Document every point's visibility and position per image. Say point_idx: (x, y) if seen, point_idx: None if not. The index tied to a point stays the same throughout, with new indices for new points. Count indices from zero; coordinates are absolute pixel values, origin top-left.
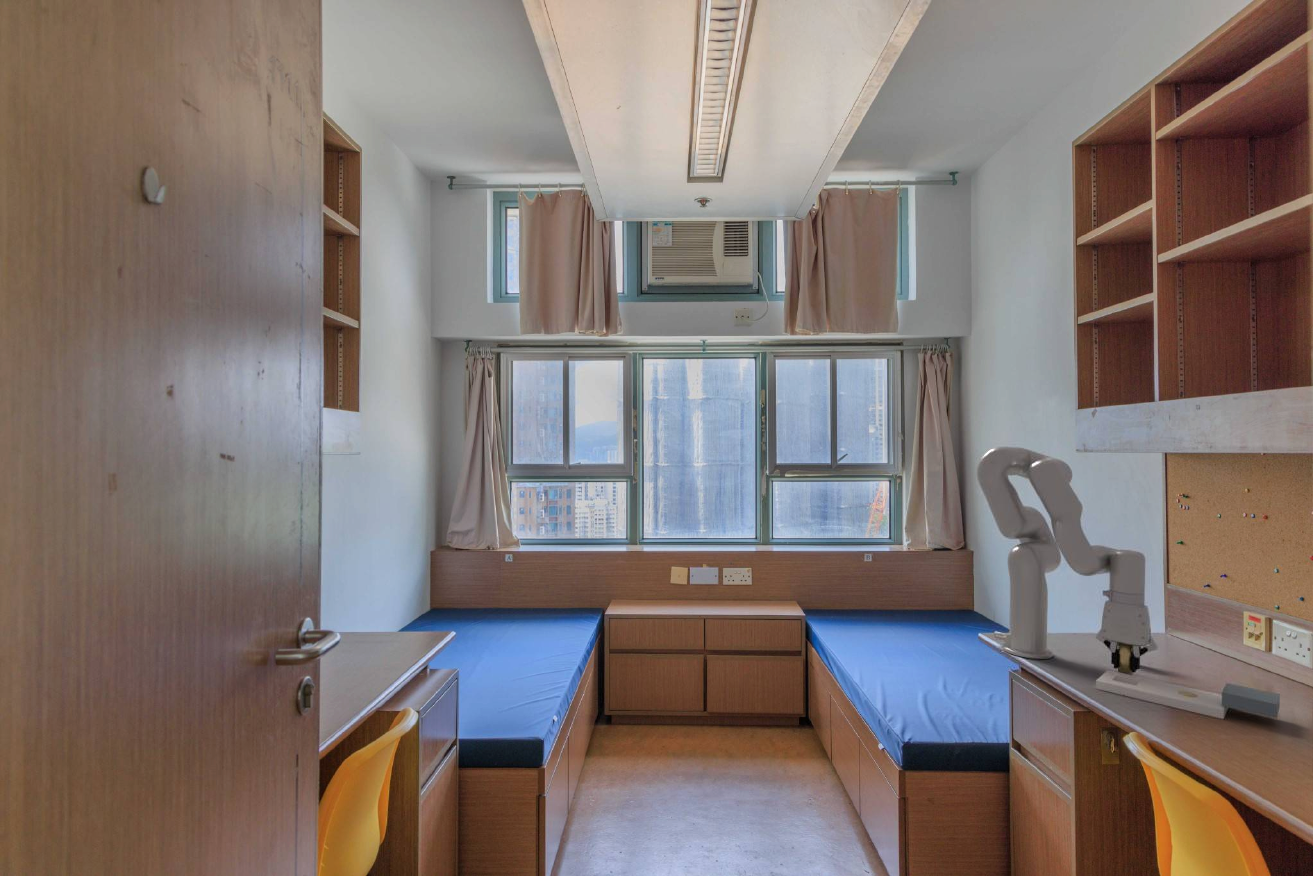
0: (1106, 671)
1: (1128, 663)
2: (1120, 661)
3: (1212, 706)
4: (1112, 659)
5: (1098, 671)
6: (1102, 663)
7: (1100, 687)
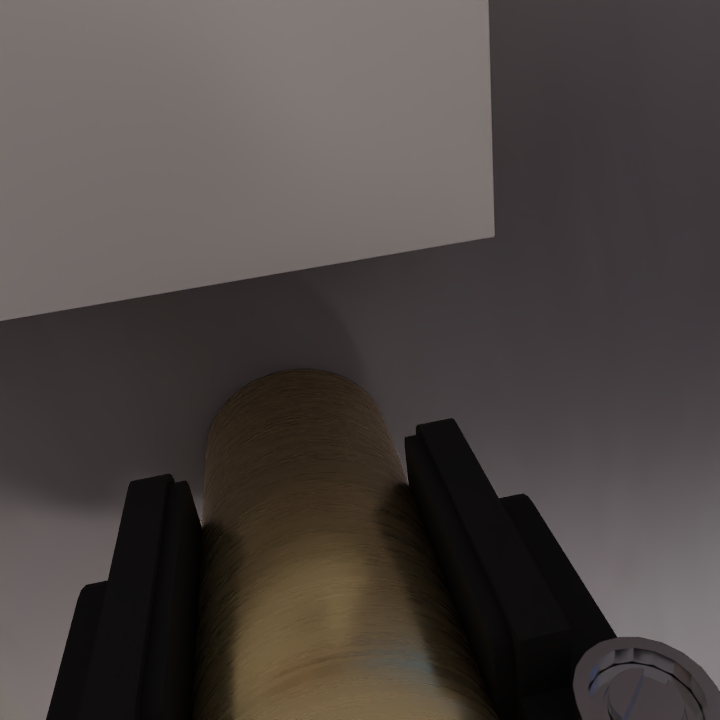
0: (486, 90)
1: (235, 570)
2: (383, 542)
3: None
4: (535, 541)
5: (612, 389)
6: None
7: None
